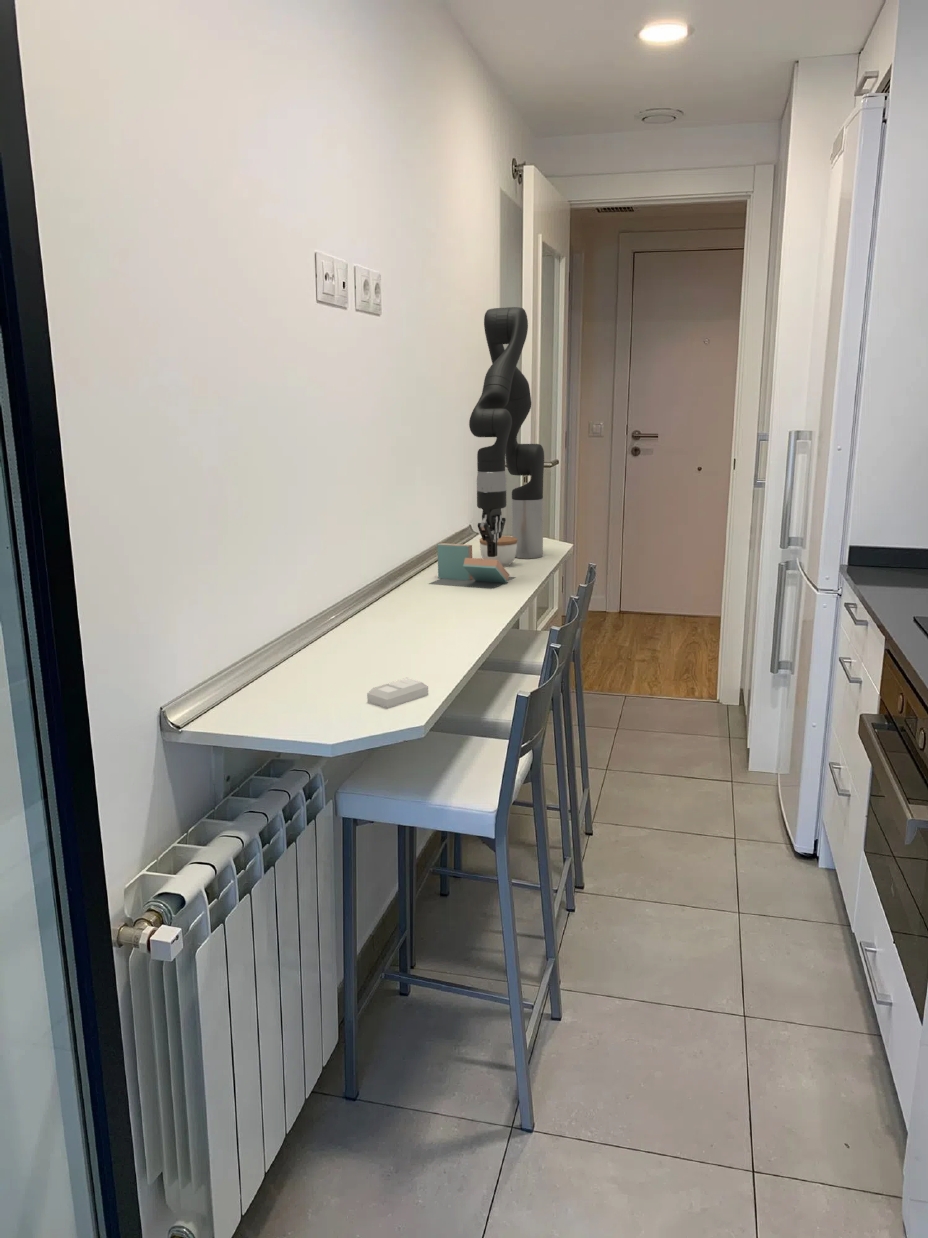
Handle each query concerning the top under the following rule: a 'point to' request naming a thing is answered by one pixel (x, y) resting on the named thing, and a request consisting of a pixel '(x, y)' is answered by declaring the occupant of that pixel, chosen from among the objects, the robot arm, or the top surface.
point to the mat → (468, 583)
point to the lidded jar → (502, 550)
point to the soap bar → (397, 692)
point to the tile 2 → (486, 570)
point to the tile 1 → (453, 561)
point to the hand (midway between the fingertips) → (492, 556)
